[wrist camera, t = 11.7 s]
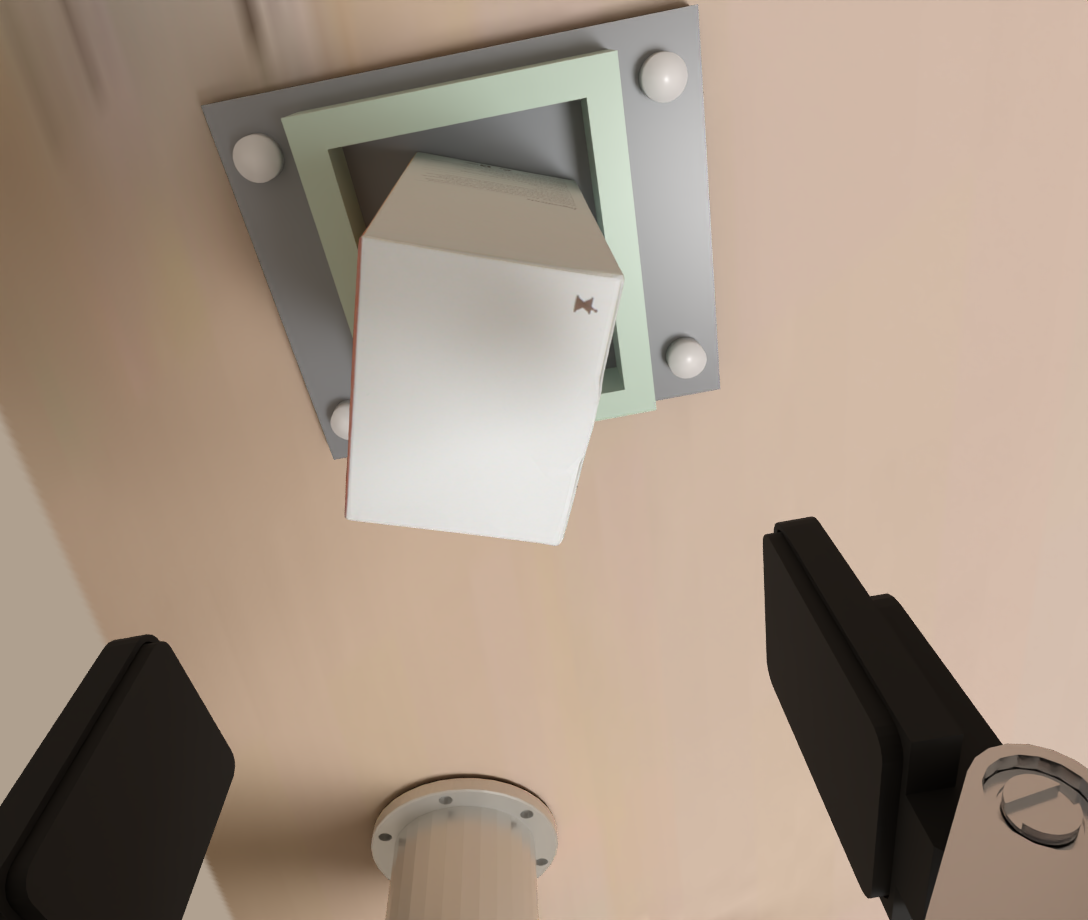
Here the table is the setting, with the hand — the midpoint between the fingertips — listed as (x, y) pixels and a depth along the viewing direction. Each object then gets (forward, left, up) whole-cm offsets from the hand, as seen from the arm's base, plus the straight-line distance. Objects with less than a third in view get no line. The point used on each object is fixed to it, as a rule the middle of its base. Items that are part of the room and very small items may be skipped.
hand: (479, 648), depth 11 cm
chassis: (0, 0, -23) cm, 22 cm away
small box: (0, 0, -22) cm, 22 cm away
